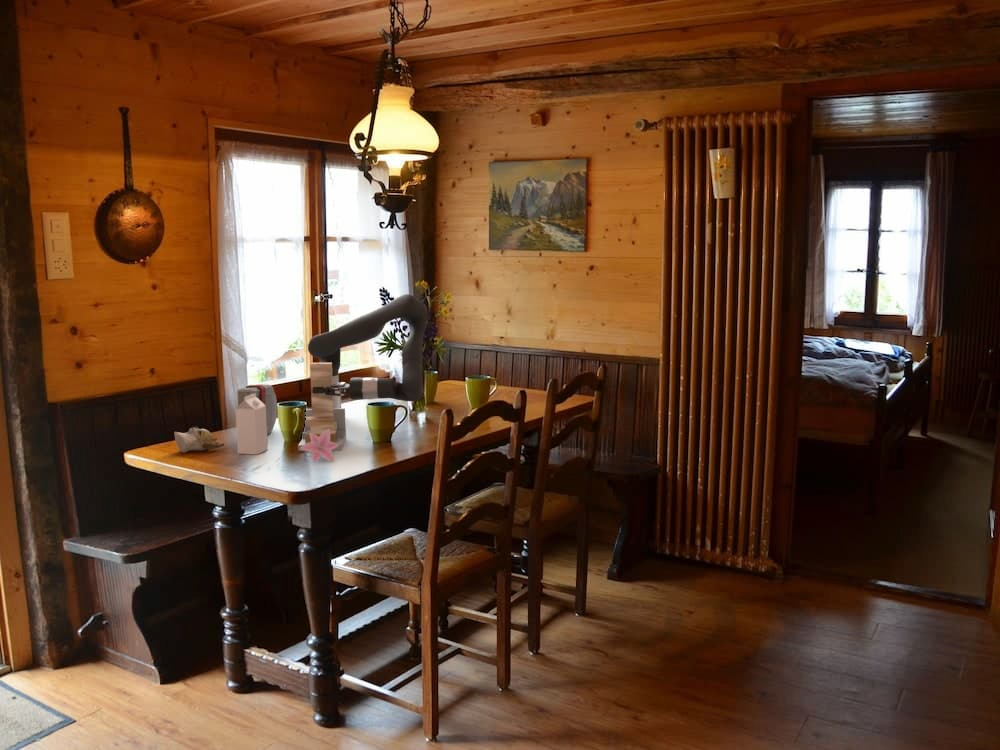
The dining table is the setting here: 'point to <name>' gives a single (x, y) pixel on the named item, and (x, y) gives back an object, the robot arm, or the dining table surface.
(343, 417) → the slot rack
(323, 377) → the wooden plank
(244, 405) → the milk carton
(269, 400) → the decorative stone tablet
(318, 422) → the offcut stack
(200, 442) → the ceramic sculpture
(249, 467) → the dining table surface
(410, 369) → the robot arm
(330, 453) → the lily
